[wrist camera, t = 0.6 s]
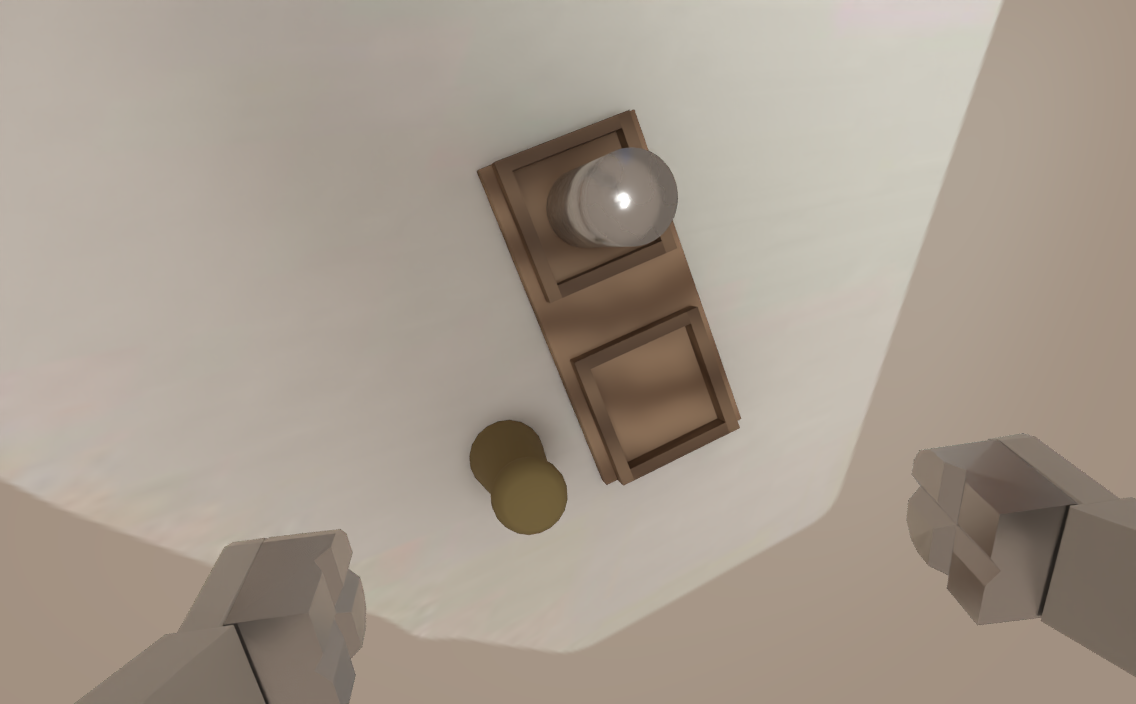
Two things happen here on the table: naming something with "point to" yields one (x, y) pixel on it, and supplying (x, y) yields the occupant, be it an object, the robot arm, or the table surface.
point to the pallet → (614, 315)
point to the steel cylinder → (614, 200)
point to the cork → (518, 477)
